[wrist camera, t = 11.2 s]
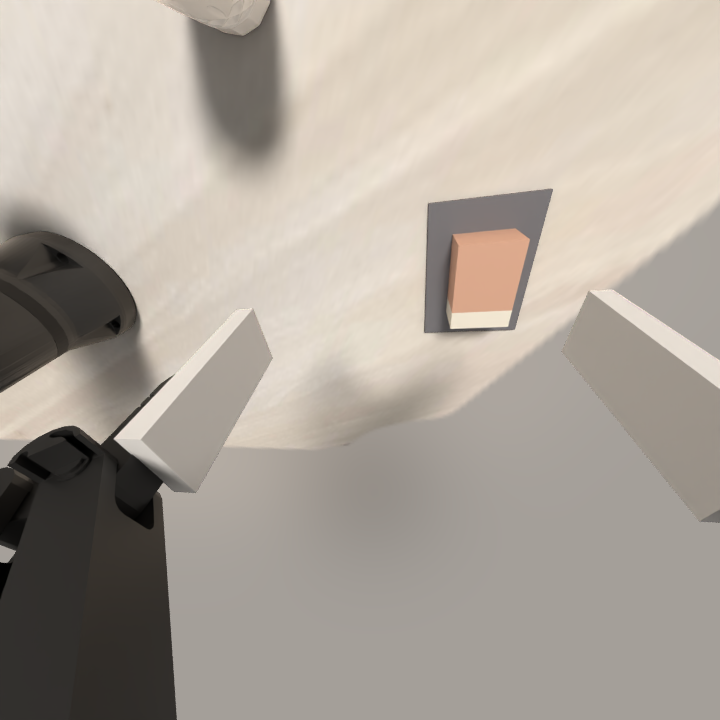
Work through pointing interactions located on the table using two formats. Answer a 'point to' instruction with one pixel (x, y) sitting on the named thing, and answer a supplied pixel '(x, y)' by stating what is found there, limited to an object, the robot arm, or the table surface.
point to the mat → (477, 217)
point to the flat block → (484, 277)
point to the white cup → (222, 13)
